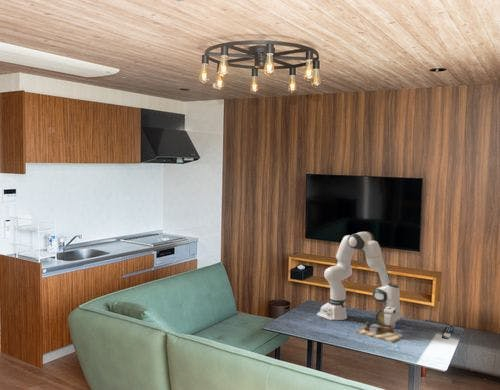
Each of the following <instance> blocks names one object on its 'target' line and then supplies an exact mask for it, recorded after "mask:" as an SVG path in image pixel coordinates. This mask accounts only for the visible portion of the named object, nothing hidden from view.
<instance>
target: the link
mask: <svg viewBox="0 0 500 390" xmlns="http://www.w3.org/2000/svg"><path fill="white" fill-rule="evenodd" d="M371 325H372V324H370V321H366V322H365V324H364V325H363V328H364V330H368V331H369V326H371ZM394 329H395V328H393V327H390V326H383V325H381V327H380V328H378V329H377V331H382V332H393V333H395V331H394Z"/></svg>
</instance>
